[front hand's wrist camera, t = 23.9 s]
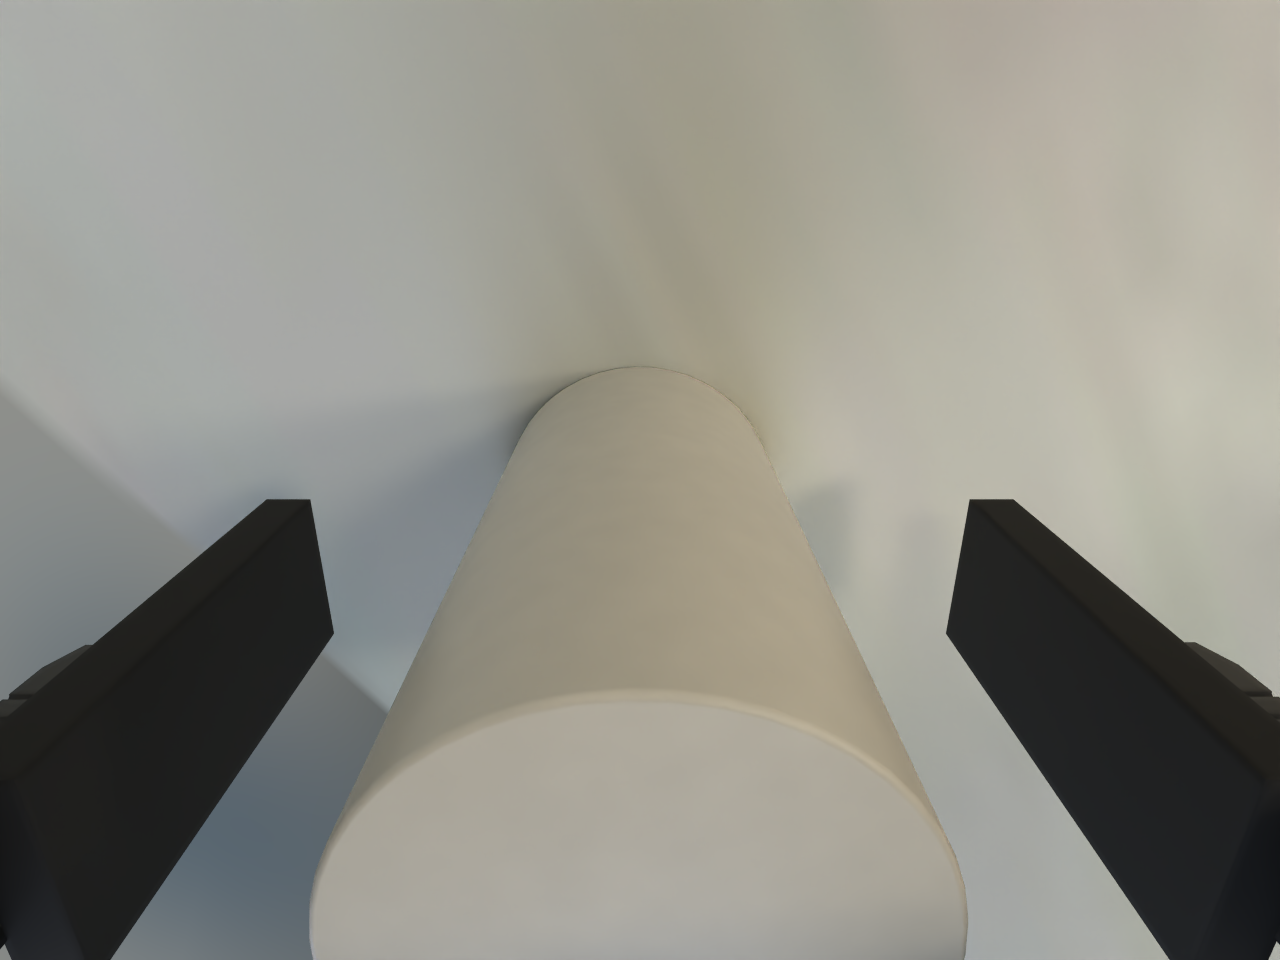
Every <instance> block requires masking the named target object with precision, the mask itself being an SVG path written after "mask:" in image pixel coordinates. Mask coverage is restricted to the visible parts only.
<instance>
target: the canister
mask: <svg viewBox="0 0 1280 960" xmlns="http://www.w3.org/2000/svg"><path fill="white" fill-rule="evenodd" d="M967 930H968V913H967V903H966V892H965V886H964V882H963V879H962V875H961V872H960V869H959V865H958V862H957V858H956V855H955V853H954V851H953V849H952V847H951V845H950V843H949V841H948V838H947V836H946V834H945V832H944V830H943V828H942V826H941V824H940V822H939V819H938V817H937V815H936V813H935V811H934V809H933V807H932V805H931V802H930V800H929V798H928V796H927V794H926V792H925V790H924V788H923V785H922V783H921V781H920V779H919V777H918V775H917V773H916V771H915V768H914V766H913V764H912V762H911V760H910V758H909V756H908V754H907V751H906V749H905V747H904V745H903V743H902V741H901V739H900V737H899V735H898V732H897V730H896V728H895V726H894V724H893V722H892V720H891V718H890V715H889V713H888V711H887V709H886V707H885V705H884V703H883V701H882V698H881V696H880V694H879V692H878V690H877V688H876V686H875V684H874V681H873V679H872V677H871V675H870V673H869V671H868V669H867V667H866V664H865V662H864V660H863V658H862V656H861V654H860V652H859V650H858V647H857V645H856V643H855V641H854V639H853V637H852V635H851V633H850V631H849V628H848V626H847V624H846V622H845V620H844V618H843V616H842V614H841V611H840V609H839V607H838V605H837V603H836V601H835V599H834V597H833V594H832V592H831V590H830V588H829V586H828V584H827V582H826V580H825V577H824V575H823V573H822V571H821V569H820V567H819V565H818V563H817V560H816V558H815V556H814V554H813V552H812V550H811V548H810V546H809V544H808V541H807V539H806V537H805V535H804V533H803V531H802V529H801V527H800V524H799V522H798V520H797V518H796V516H795V514H794V512H793V510H792V507H791V505H790V503H789V501H788V499H787V497H786V495H785V493H784V490H783V488H782V486H781V484H780V482H779V480H778V478H777V476H776V473H775V471H774V469H773V467H772V465H771V463H770V461H769V459H768V457H767V454H766V452H765V450H764V448H763V446H762V444H761V442H760V440H759V438H758V436H757V434H756V432H755V430H754V428H753V427H752V426H751V424H750V423H749V421H748V420H747V418H746V417H745V416H744V414H743V413H742V412H741V411H740V410H739V409H738V408H737V407H736V406H735V405H734V404H733V403H732V402H731V401H730V400H729V399H727V398H726V397H725V396H724V395H723V394H721V393H720V392H719V391H717V390H715V389H714V388H712V387H711V386H709V385H707V384H706V383H704V382H702V381H699V380H697V379H695V378H693V377H690V376H688V375H685V374H681V373H678V372H675V371H671V370H665V369H659V368H653V367H629V368H618V369H613V370H609V371H604V372H600V373H597V374H594V375H592V376H589V377H586V378H583V379H581V380H579V381H577V382H576V383H574V384H572V385H570V386H568V387H566V388H565V389H563V390H562V391H561V392H559V393H558V394H556V395H555V396H554V397H552V398H551V399H550V400H549V401H548V402H547V403H546V404H545V405H544V406H543V407H542V408H541V409H540V410H539V411H538V412H537V413H536V415H535V416H534V417H533V418H532V420H531V421H530V422H529V423H528V425H527V427H526V429H525V430H524V432H523V434H522V435H521V437H520V439H519V441H518V443H517V445H516V447H515V449H514V452H513V454H512V456H511V458H510V460H509V462H508V464H507V466H506V468H505V470H504V472H503V475H502V477H501V479H500V481H499V483H498V485H497V487H496V489H495V491H494V493H493V496H492V498H491V500H490V502H489V504H488V506H487V508H486V510H485V512H484V514H483V516H482V519H481V521H480V523H479V525H478V527H477V529H476V531H475V533H474V535H473V537H472V539H471V542H470V544H469V546H468V548H467V550H466V552H465V554H464V556H463V558H462V560H461V563H460V565H459V567H458V569H457V571H456V573H455V575H454V577H453V579H452V581H451V583H450V586H449V588H448V590H447V592H446V594H445V596H444V598H443V600H442V602H441V604H440V606H439V609H438V611H437V613H436V615H435V617H434V619H433V621H432V623H431V625H430V627H429V630H428V632H427V634H426V636H425V638H424V640H423V642H422V644H421V646H420V648H419V650H418V653H417V655H416V657H415V659H414V661H413V663H412V665H411V667H410V669H409V671H408V673H407V676H406V678H405V680H404V682H403V684H402V686H401V688H400V690H399V692H398V694H397V696H396V699H395V701H394V703H393V705H392V707H391V709H390V711H389V713H388V715H387V717H386V720H385V722H384V724H383V726H382V728H381V730H380V732H379V734H378V736H377V738H376V740H375V743H374V745H373V747H372V749H371V751H370V753H369V755H368V757H367V759H366V761H365V763H364V766H363V768H362V770H361V772H360V774H359V776H358V778H357V780H356V782H355V784H354V787H353V789H352V791H351V793H350V795H349V797H348V799H347V801H346V803H345V805H344V808H343V810H342V812H341V814H340V816H339V818H338V820H337V822H336V824H335V826H334V828H333V830H332V833H331V835H330V837H329V839H328V841H327V844H326V846H325V849H324V851H323V854H322V856H321V859H320V861H319V864H318V866H317V869H316V871H315V876H314V881H313V887H312V892H311V897H310V902H309V940H310V945H311V951H312V956H313V960H964V958H965V952H966V941H967Z"/></svg>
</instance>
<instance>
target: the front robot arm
mask: <svg viewBox="0 0 1280 960" xmlns="http://www.w3.org/2000/svg"><path fill="white" fill-rule="evenodd" d="M333 634H334V631H333V625H332V620H331V614H330V608H329V603H328V597H327V591H326V586H325V580H324V574H323V569H322V563H321V557H320V552H319V546H318V540H317V535H316V529H315V523H314V518H313V512H312V507H311V501H310V499H267V500H265V501H264V502H263V503H262V504H261V505H259V506H258V507H257V508H256V509H255V510H253V511H252V512H251V513H250V514H249V515H247V516H246V517H245V518H244V519H243V520H242V521H240V522H239V523H238V524H237V525H236V526H234V527H233V528H232V529H231V530H230V531H228V532H227V533H226V534H225V535H224V536H222V537H221V538H220V539H219V540H218V541H216V542H215V543H214V544H213V545H212V546H210V547H209V548H208V549H207V550H206V551H204V552H203V553H202V554H201V555H200V556H198V557H197V558H196V559H195V560H194V561H193V562H191V563H190V564H189V565H188V566H187V567H185V568H184V569H183V570H182V571H181V572H179V573H178V574H177V575H176V576H175V577H173V578H172V579H171V580H170V581H169V582H167V583H166V584H165V585H164V586H163V587H161V588H160V589H159V590H158V591H157V592H155V593H154V594H153V595H152V596H151V597H149V598H148V599H147V600H146V601H145V602H144V603H142V604H141V605H140V606H139V607H138V608H136V609H135V610H134V611H133V612H132V613H130V614H129V615H128V616H127V617H126V618H124V619H123V620H122V621H121V622H120V623H118V624H117V625H116V626H115V627H114V628H112V629H111V630H110V631H109V632H108V633H106V634H105V635H104V636H103V637H102V638H100V639H99V640H98V641H97V642H96V643H94V644H93V645H85V646H83V647H81V648H79V649H77V650H75V651H73V652H71V653H69V654H67V655H65V656H64V657H62V658H60V659H58V660H56V661H54V662H52V663H50V664H48V665H46V666H44V667H43V668H41V669H40V670H39V671H37V672H36V673H35V674H34V675H33V676H31V677H30V678H29V679H28V680H26V681H25V682H24V683H23V684H21V685H20V686H19V687H18V688H16V689H15V690H14V691H13V692H11V693H10V694H9V699H8V700H1V701H0V949H1V947H2V946H3V945H4V944H5V946H6V948H7V950H8V952H9V955H10V957H11V959H12V960H110V959H111V958H112V957H113V955H114V954H115V952H116V951H117V949H118V948H119V946H120V945H121V943H122V942H123V940H124V939H125V938H126V936H127V935H128V933H129V932H130V930H131V929H132V927H133V926H134V924H135V923H136V922H137V920H138V919H139V917H140V916H141V914H142V913H143V911H144V910H145V908H146V907H147V906H148V904H149V903H150V901H151V900H152V898H153V897H154V895H155V894H156V892H157V891H158V889H159V888H160V886H161V885H162V884H163V882H164V881H165V879H166V878H167V876H168V875H169V873H170V872H171V871H172V869H173V868H174V866H175V865H176V863H177V862H178V860H179V859H180V857H181V856H182V854H183V853H184V852H185V850H186V849H187V847H188V846H189V844H190V843H191V841H192V840H193V838H194V837H195V835H196V834H197V833H198V831H199V830H200V828H201V827H202V825H203V824H204V822H205V821H206V819H207V818H208V817H209V815H210V814H211V812H212V811H213V809H214V808H215V806H216V805H217V803H218V802H219V800H220V799H221V798H222V796H223V795H224V793H225V792H226V790H227V789H228V787H229V786H230V784H231V783H232V782H233V780H234V779H235V777H236V776H237V774H238V773H239V771H240V770H241V768H242V767H243V765H244V764H245V763H246V761H247V760H248V758H249V757H250V755H251V754H252V752H253V751H254V749H255V748H256V747H257V745H258V744H259V742H260V741H261V739H262V738H263V736H264V735H265V733H266V732H267V730H268V729H269V728H270V726H271V725H272V723H273V722H274V720H275V719H276V717H277V716H278V714H279V713H280V712H281V710H282V709H283V707H284V706H285V704H286V703H287V701H288V700H289V698H290V697H291V695H292V694H293V693H294V691H295V690H296V688H297V687H298V685H299V684H300V682H301V681H302V679H303V678H304V677H305V675H306V674H307V672H308V671H309V669H310V668H311V666H312V665H313V663H314V662H315V660H316V659H317V657H318V656H319V655H320V653H321V652H322V650H323V649H324V647H325V646H326V644H327V643H328V642H329V640H330V639H331V637H332V636H333ZM946 634H947V636H948V637H949V639H950V640H951V641H952V643H953V644H954V646H955V647H956V649H957V650H958V652H959V653H960V655H961V656H962V658H963V659H964V660H965V662H966V663H967V665H968V666H969V668H970V669H971V671H972V672H973V674H974V675H975V676H976V678H977V679H978V681H979V682H980V684H981V685H982V687H983V688H984V690H985V691H986V693H987V694H988V695H989V697H990V698H991V700H992V701H993V703H994V704H995V706H996V707H997V709H998V710H999V712H1000V713H1001V714H1002V716H1003V717H1004V719H1005V720H1006V722H1007V723H1008V725H1009V726H1010V728H1011V729H1012V730H1013V732H1014V733H1015V735H1016V736H1017V738H1018V739H1019V741H1020V742H1021V744H1022V745H1023V747H1024V748H1025V749H1026V751H1027V752H1028V754H1029V755H1030V757H1031V758H1032V760H1033V761H1034V763H1035V764H1036V765H1037V767H1038V768H1039V770H1040V771H1041V773H1042V774H1043V776H1044V777H1045V779H1046V780H1047V782H1048V783H1049V784H1050V786H1051V787H1052V789H1053V790H1054V792H1055V793H1056V795H1057V796H1058V798H1059V799H1060V800H1061V802H1062V803H1063V805H1064V806H1065V808H1066V809H1067V811H1068V812H1069V814H1070V815H1071V817H1072V818H1073V819H1074V821H1075V822H1076V824H1077V825H1078V827H1079V828H1080V830H1081V831H1082V833H1083V834H1084V835H1085V837H1086V838H1087V840H1088V841H1089V843H1090V844H1091V846H1092V847H1093V849H1094V850H1095V852H1096V853H1097V854H1098V856H1099V857H1100V859H1101V860H1102V862H1103V863H1104V865H1105V866H1106V868H1107V869H1108V870H1109V872H1110V873H1111V875H1112V876H1113V878H1114V879H1115V881H1116V882H1117V884H1118V885H1119V887H1120V888H1121V889H1122V891H1123V892H1124V894H1125V895H1126V897H1127V898H1128V900H1129V901H1130V903H1131V904H1132V906H1133V907H1134V908H1135V910H1136V911H1137V913H1138V914H1139V916H1140V917H1141V919H1142V920H1143V922H1144V923H1145V924H1146V926H1147V927H1148V929H1149V930H1150V932H1151V933H1152V935H1153V936H1154V938H1155V939H1156V941H1157V942H1158V943H1159V945H1160V946H1161V948H1162V949H1163V951H1164V952H1165V954H1166V955H1167V957H1168V958H1169V959H1170V960H1268V959H1269V957H1270V955H1271V952H1272V950H1273V948H1274V946H1275V944H1276V941H1277V942H1278V943H1279V944H1280V698H1279V697H1273V696H1272V691H1271V690H1269V689H1268V688H1267V687H1266V686H1264V685H1263V684H1262V683H1261V682H1259V681H1258V680H1257V679H1256V678H1254V677H1253V676H1252V675H1251V674H1249V673H1248V672H1247V671H1246V670H1244V669H1243V668H1242V667H1241V666H1239V665H1238V664H1236V663H1234V662H1232V661H1230V660H1228V659H1226V658H1224V657H1222V656H1220V655H1219V654H1217V653H1215V652H1213V651H1211V650H1209V649H1207V648H1205V647H1203V646H1201V645H1199V644H1197V643H1195V642H1183V641H1182V640H1181V639H1180V638H1178V637H1177V636H1176V635H1175V634H1174V633H1172V632H1171V631H1170V630H1169V629H1168V628H1166V627H1165V626H1164V625H1163V624H1162V623H1160V622H1159V621H1158V620H1157V619H1156V618H1154V617H1153V616H1152V615H1151V614H1150V613H1148V612H1147V611H1146V610H1145V609H1144V608H1142V607H1141V606H1140V605H1139V604H1138V603H1137V602H1135V601H1134V600H1133V599H1132V598H1131V597H1129V596H1128V595H1127V594H1126V593H1125V592H1123V591H1122V590H1121V589H1120V588H1119V587H1117V586H1116V585H1115V584H1114V583H1113V582H1111V581H1110V580H1109V579H1108V578H1107V577H1105V576H1104V575H1103V574H1102V573H1101V572H1099V571H1098V570H1097V569H1096V568H1095V567H1093V566H1092V565H1091V564H1090V563H1089V562H1088V561H1086V560H1085V559H1084V558H1083V557H1082V556H1080V555H1079V554H1078V553H1077V552H1076V551H1074V550H1073V549H1072V548H1071V547H1070V546H1068V545H1067V544H1066V543H1065V542H1064V541H1062V540H1061V539H1060V538H1059V537H1058V536H1056V535H1055V534H1054V533H1053V532H1052V531H1050V530H1049V529H1048V528H1047V527H1046V526H1044V525H1043V524H1042V523H1041V522H1040V521H1039V520H1037V519H1036V518H1035V517H1034V516H1033V515H1031V514H1030V513H1029V512H1028V511H1027V510H1025V509H1024V508H1023V507H1022V506H1021V505H1019V504H1018V503H1017V502H1016V501H1015V500H1013V499H970V501H969V507H968V512H967V518H966V524H965V529H964V535H963V541H962V546H961V552H960V557H959V563H958V569H957V574H956V580H955V586H954V591H953V597H952V603H951V608H950V614H949V620H948V625H947V631H946Z"/></svg>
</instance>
